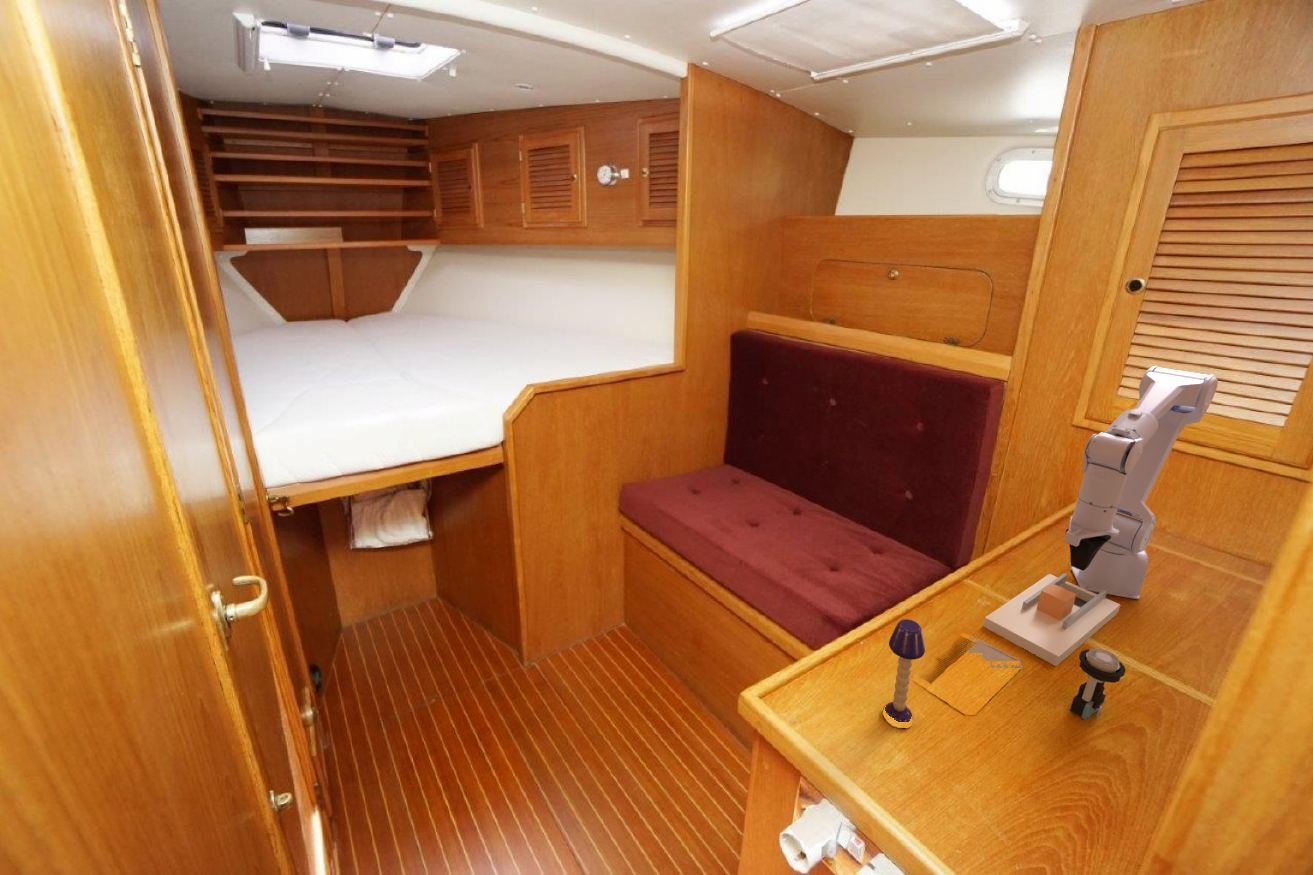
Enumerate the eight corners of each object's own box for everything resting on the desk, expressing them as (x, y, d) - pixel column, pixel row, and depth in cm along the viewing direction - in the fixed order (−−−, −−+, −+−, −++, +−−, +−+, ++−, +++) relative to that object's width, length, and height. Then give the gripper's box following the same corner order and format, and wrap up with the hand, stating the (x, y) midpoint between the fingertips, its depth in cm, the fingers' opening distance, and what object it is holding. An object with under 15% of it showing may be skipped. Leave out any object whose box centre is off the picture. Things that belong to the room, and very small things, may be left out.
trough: (1047, 582, 115) (1051, 567, 114) (1117, 613, 106) (1122, 597, 105) (983, 626, 103) (986, 610, 102) (1056, 666, 94) (1061, 649, 92)
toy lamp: (893, 734, 82) (910, 640, 76) (870, 710, 86) (885, 619, 80) (919, 723, 83) (937, 630, 77) (895, 700, 87) (911, 610, 82)
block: (1047, 601, 106) (1052, 583, 105) (1071, 612, 103) (1076, 594, 102) (1036, 608, 104) (1041, 590, 103) (1060, 620, 101) (1066, 601, 100)
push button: (1080, 688, 89) (1096, 636, 86) (1120, 711, 85) (1139, 657, 81) (1057, 705, 86) (1073, 652, 83) (1097, 730, 82) (1116, 675, 78)
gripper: (1106, 521, 93) (1085, 591, 97) (1142, 498, 100) (1121, 564, 105) (1058, 504, 98) (1041, 572, 103) (1095, 484, 106) (1077, 547, 110)
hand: (1078, 567), depth 104 cm, fingers closed
